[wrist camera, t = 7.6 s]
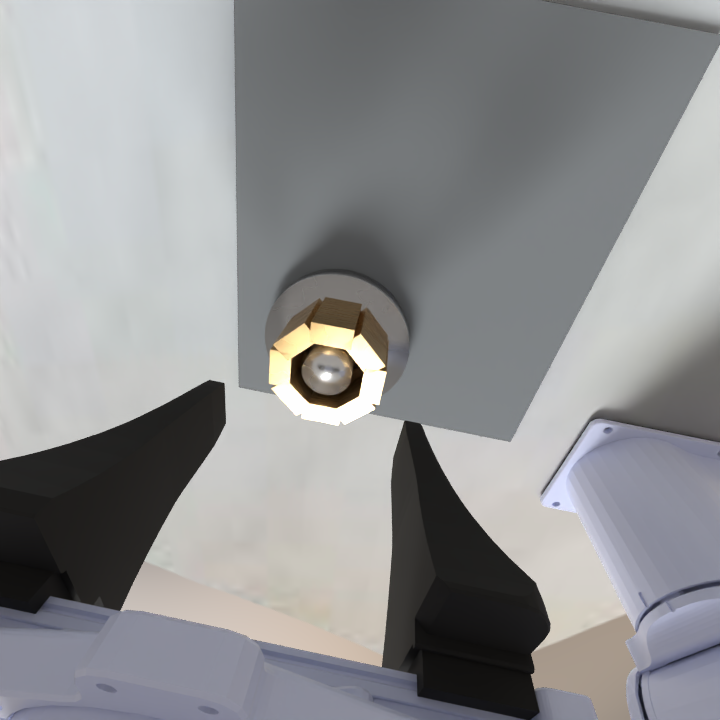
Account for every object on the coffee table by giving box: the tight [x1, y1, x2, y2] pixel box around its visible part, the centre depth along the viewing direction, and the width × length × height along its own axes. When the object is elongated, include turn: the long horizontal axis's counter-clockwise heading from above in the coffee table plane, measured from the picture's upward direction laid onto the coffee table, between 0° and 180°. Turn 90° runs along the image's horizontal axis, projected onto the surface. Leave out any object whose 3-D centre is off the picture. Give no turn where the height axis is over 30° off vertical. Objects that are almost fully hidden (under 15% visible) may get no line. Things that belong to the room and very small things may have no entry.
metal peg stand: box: [265, 269, 410, 396], centre depth 18 cm, size 8×8×4 cm
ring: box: [269, 297, 389, 425], centre depth 18 cm, size 5×5×3 cm
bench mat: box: [234, 0, 720, 442], centre depth 18 cm, size 18×20×1 cm
